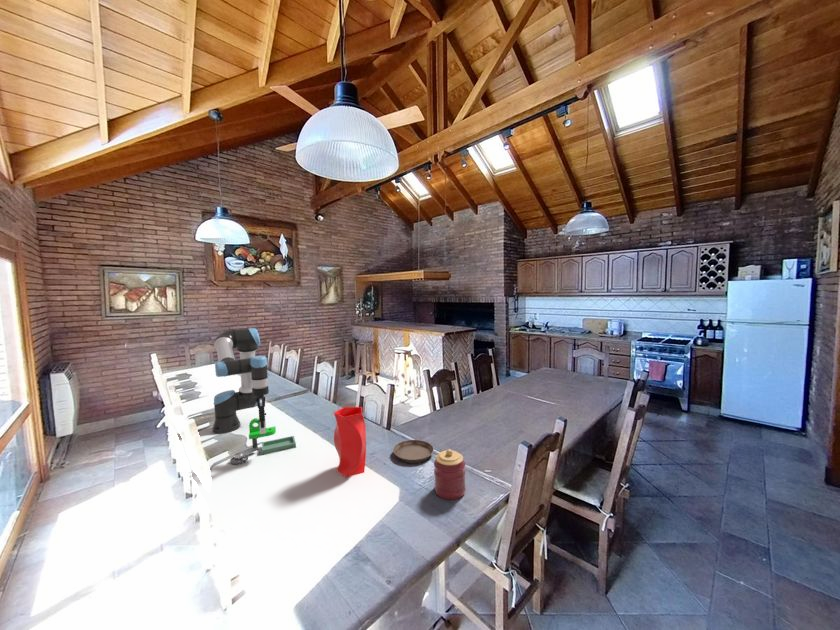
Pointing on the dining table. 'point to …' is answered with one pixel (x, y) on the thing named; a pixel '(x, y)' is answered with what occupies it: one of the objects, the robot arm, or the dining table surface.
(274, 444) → the tray
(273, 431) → the mechanical part
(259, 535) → the dining table surface
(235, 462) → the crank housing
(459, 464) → the canister
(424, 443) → the plant saucer
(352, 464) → the vase
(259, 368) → the robot arm
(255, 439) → the crank
